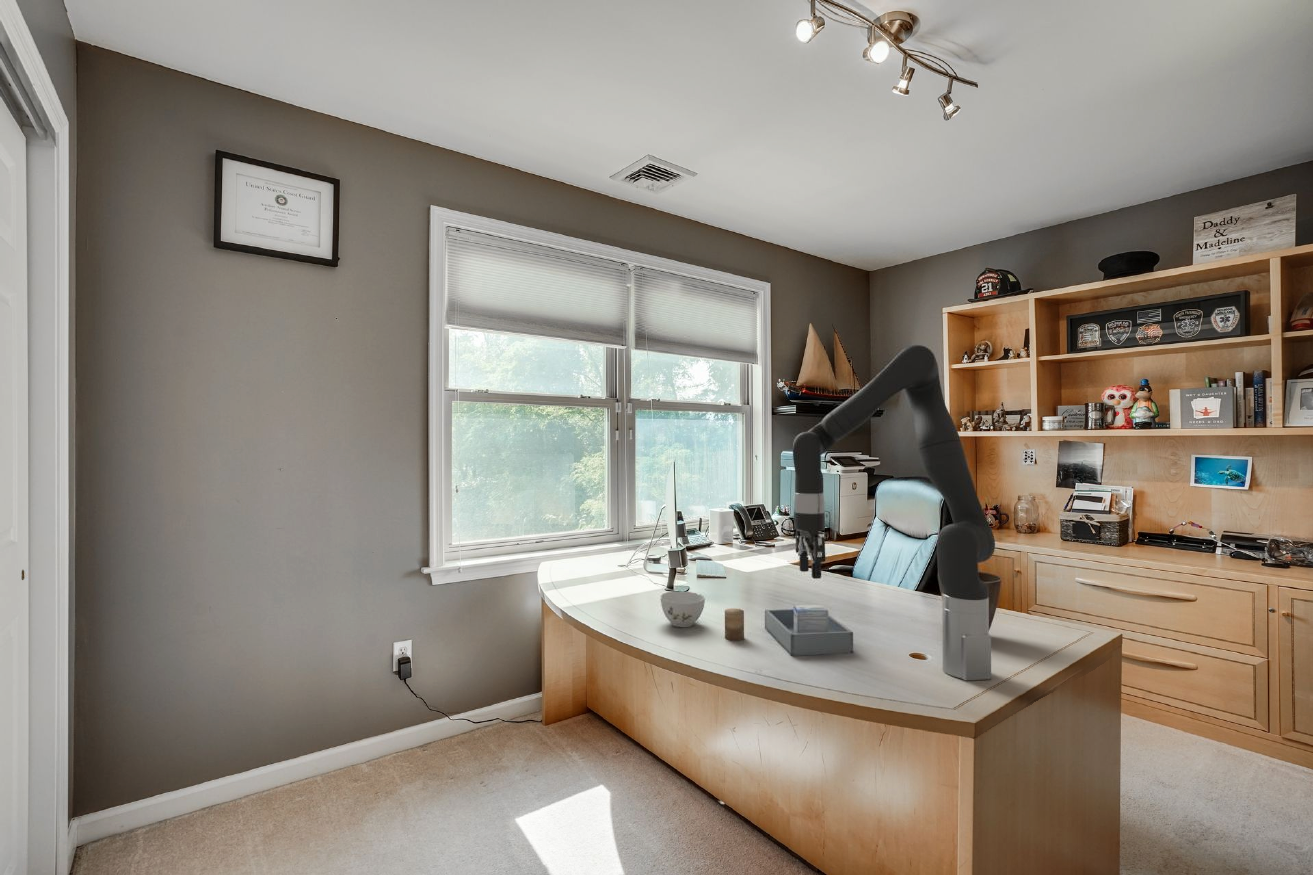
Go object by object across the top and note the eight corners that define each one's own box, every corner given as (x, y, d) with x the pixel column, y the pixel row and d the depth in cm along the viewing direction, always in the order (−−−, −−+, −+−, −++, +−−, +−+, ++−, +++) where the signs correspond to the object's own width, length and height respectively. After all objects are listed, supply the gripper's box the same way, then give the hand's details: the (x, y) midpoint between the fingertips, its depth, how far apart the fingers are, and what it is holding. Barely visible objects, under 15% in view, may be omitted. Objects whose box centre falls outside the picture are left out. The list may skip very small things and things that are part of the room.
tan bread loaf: (746, 640, 160) (746, 613, 160) (727, 641, 160) (727, 614, 160) (741, 634, 165) (741, 608, 165) (722, 635, 165) (722, 608, 165)
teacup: (694, 634, 166) (694, 604, 166) (652, 628, 171) (652, 598, 171) (714, 619, 179) (714, 591, 179) (675, 614, 185) (674, 587, 185)
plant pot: (928, 637, 162) (928, 575, 162) (949, 624, 173) (949, 567, 173) (990, 650, 152) (990, 585, 152) (1009, 636, 162) (1009, 575, 162)
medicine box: (824, 638, 159) (824, 605, 159) (828, 644, 155) (828, 609, 155) (793, 638, 159) (793, 605, 159) (797, 644, 155) (796, 609, 155)
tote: (853, 652, 151) (853, 632, 151) (790, 655, 149) (790, 634, 149) (819, 626, 172) (819, 608, 172) (764, 628, 170) (764, 610, 170)
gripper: (835, 513, 151) (835, 580, 151) (813, 507, 165) (813, 568, 165) (805, 514, 150) (805, 581, 150) (785, 508, 164) (786, 569, 164)
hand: (810, 574), depth 157 cm, fingers open, 8 cm apart
